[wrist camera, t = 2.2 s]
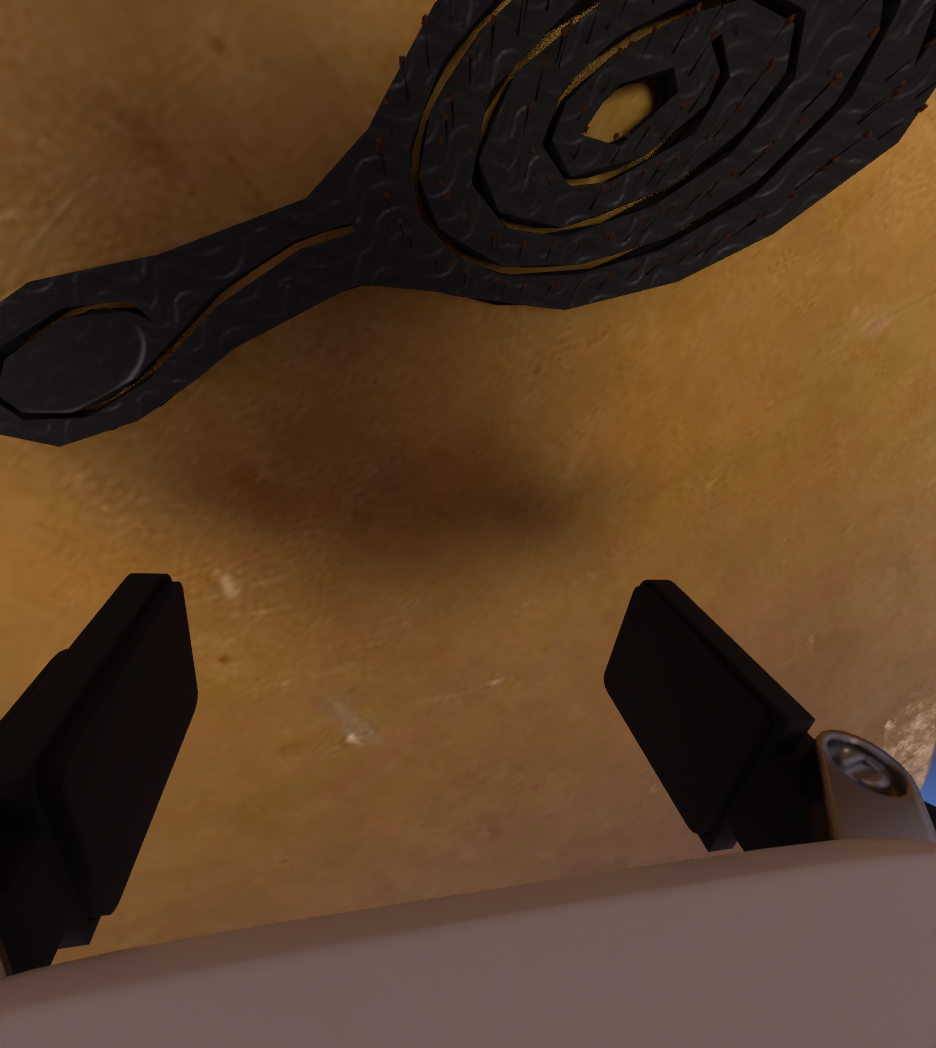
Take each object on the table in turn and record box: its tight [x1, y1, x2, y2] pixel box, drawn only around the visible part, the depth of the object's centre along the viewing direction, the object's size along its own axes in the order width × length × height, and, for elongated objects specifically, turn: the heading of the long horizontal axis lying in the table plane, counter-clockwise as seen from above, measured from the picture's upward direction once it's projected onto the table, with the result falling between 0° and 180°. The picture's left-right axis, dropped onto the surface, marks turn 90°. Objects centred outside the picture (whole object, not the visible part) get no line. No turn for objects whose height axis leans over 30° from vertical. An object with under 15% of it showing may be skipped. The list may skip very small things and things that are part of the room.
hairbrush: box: [0, 0, 936, 447], centre depth 11 cm, size 8×4×25 cm
